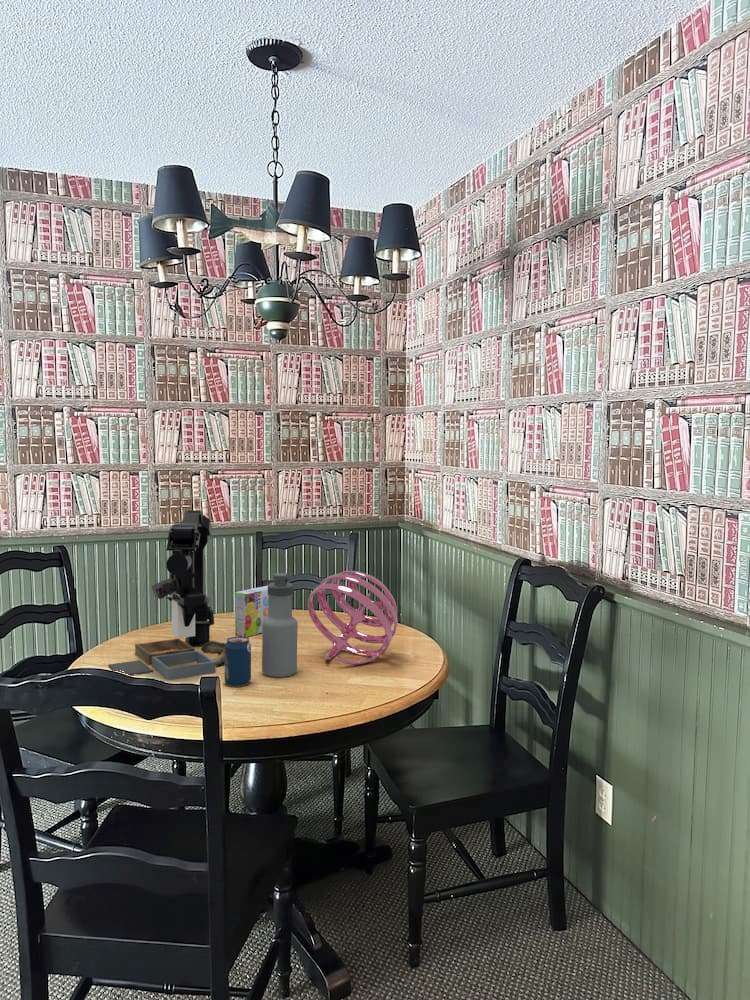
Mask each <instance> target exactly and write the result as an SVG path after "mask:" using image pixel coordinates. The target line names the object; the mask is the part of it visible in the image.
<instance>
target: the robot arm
mask: <svg viewBox="0 0 750 1000" xmlns="http://www.w3.org/2000/svg"><path fill="white" fill-rule="evenodd" d="M167 536H168V538H167V543H166V551H169V552H170V551H172V553H171V556H169V557H168V558H167V560H166V565H165V567H166V569H167V571H168V572H169V578H167V579H164V580H162V581H160V582H157V583H155V584H153V585H152V586H151V589H152V591H153V594H154V598H158V600H162V599H164V598H166V600H168V601H169V602H171V603H172V599H179V598H180V603H177V604H178V605H179V606H180V607H181V608H182V612H183V619H184V625H185V627H188V626H189V625H190V623H191V621H192V619H193V616H194V614H195V636H192V637H185V643H187V644H189V645H190V646H192V647H199V646H203V645H204V644H205V643H207V642H210V641H211V640H210V638H211V637H210V629H211V628H210V626H213V625H214V624H215V615H214V614H215V613H214V611H213V608H212V606H211V603H210V599H209V597H208V596H207V593H205V583H206V582H205V562H206V561H205V548H206V546H207V545H208V543H209V542H210V538H211V536H212V522H211V520H210V518H208V517H207V516H206V515H204V512H203V511H201V510H197V509H196V510H193V509H192V510H191V509H190V510H185V513H184V516H183V518H182V520H181V522H176V523H174V524H172V525H171V528H170V529H169V530H168V535H167ZM166 596H167V597H166Z"/></svg>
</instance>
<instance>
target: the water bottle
mask: <svg viewBox="0 0 750 1000" xmlns="http://www.w3.org/2000/svg"><path fill="white" fill-rule="evenodd" d="M273 580H274V581H273V582H270V583H269V584H267V586H268V596H269V608H268V617H267V618H265V619H264V621H263V625H262V633H261V634H262V635H261V637H262V638H261V639H262V643H261V647H262V648H261V672H262V673H263V675H265V676H267V677H270V676H271V677H272V678H287V677H291V676H293V675H295V674H296V673H297V669H298V625H299V624H298V620H297V619H296V618H295V617H294V616H293V596H294V584H292V583H291V582H289V580H288V572H274V574H273ZM290 675H291V676H290ZM286 676H287V677H286Z"/></svg>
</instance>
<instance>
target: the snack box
mask: <svg viewBox="0 0 750 1000" xmlns="http://www.w3.org/2000/svg"><path fill="white" fill-rule="evenodd" d="M234 596H235V597H234V598H235V599H234V605H235V607H234V609H235V610H234V611H235V612H234V614H235V617H234V618H235V620H234V621H235V623H234V624H235V628H234V629H235V636H236V635H240V636H239V637H241V636H243V637H247V638H249V637H248V636H250V637H252V636H251V635H253V636H256V635H255V634H257V635H260V634H259V633H261V634H262V625H263V621H264V619H265V618H267V617H268V608H269V596H268V585H265V586H258V587H253V588H250V589H244V590H239V591H235V592H234Z"/></svg>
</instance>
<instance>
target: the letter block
mask: <svg viewBox="0 0 750 1000" xmlns="http://www.w3.org/2000/svg"><path fill="white" fill-rule="evenodd" d="M177 603H180V598H179V599H172V602H171V635H172V636H173V637H175V638H176V639H182V638H186V637H192V636H195V614H194V616H193V619H192V621H191V623H190V625H189V626H188V627H185V625H184V619H183V612H182V608H181V607H180V606H179V605H178V604H177Z"/></svg>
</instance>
